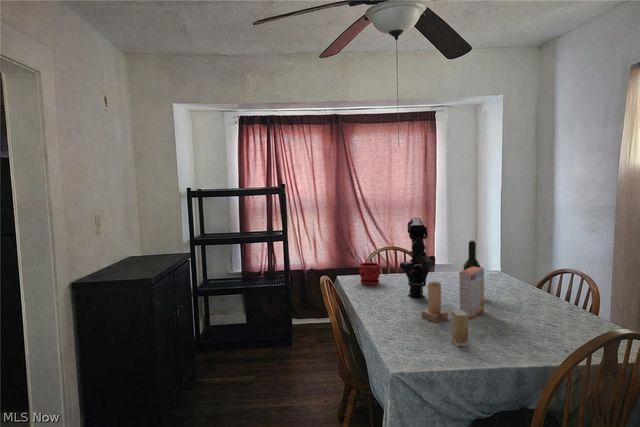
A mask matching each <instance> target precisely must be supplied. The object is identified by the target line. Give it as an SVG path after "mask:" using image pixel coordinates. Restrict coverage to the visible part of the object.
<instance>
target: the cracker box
mask: <svg viewBox="0 0 640 427" xmlns="http://www.w3.org/2000/svg"><path fill="white" fill-rule="evenodd" d="M459 310H462V311H464V312H465V313H466V314H468V315H469V319H471V320H473V319H475V317H477V316H479V315H480V314H482V313H483V312H484V311H485V268H484V267H481V268H480V267H470V268H468V269H466V270H464V269H463V270H461V271H459Z"/></svg>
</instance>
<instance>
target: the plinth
mask: <svg viewBox="0 0 640 427" xmlns="http://www.w3.org/2000/svg"><path fill="white" fill-rule="evenodd" d="M448 314H449V312H446V311H444V310H441V313H439V314H433V313H429V312H428V309H426V310H422V311H421V318H422V319H424V320H427V321H430V322H432V323H439V322H442V321H446V320H449V318H448V317H449V316H448Z"/></svg>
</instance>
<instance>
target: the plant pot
mask: <svg viewBox="0 0 640 427" xmlns="http://www.w3.org/2000/svg"><path fill="white" fill-rule="evenodd" d="M381 267H382V266H381V264H380V263H377V262H361V263H359V265H358V272H359V277H360V280H359V281H360V283H361V284H363V285H365V286H375V285H377V284H379V283H380V280H379V278H380V275H381Z"/></svg>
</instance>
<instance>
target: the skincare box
mask: <svg viewBox="0 0 640 427" xmlns="http://www.w3.org/2000/svg"><path fill="white" fill-rule="evenodd" d="M469 319H470V318H469V315H468V314H466V313H465V312H464V311H462V310H460V309H453V310H452V309H451V310H450V341H451V342H452V343H453V344H454V345H455V346H456V345H457V346H465V347H467V346H466V345H468V346H469V323H470V322H469ZM457 346H456V347H457Z"/></svg>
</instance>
